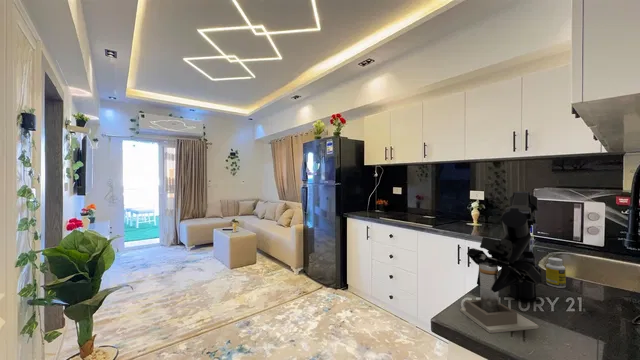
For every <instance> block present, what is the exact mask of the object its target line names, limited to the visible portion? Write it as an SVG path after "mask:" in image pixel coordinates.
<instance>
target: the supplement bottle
mask: <svg viewBox="0 0 640 360" xmlns="http://www.w3.org/2000/svg"><path fill="white" fill-rule="evenodd" d="M547 262H548V263H546V264H545V279H546V281H545V282H546V284H547V285H548V286H549V287H553V288H558V289H565V288H566V283H567V281H566V280H567V278H566V277H567V276H566V267H565V266H564V265H563V264H564V262H563V259H562V258H558V257H548V260H547Z"/></svg>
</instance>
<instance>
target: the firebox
mask: <svg viewBox="0 0 640 360" xmlns="http://www.w3.org/2000/svg"><path fill="white" fill-rule="evenodd" d="M464 302H465V307H462V308H460V309H459V310H460V312H461V313H462V314H463V315H465V316H466V317H467V318H469V319H470V320H471V321H473V322H474V323H475V324H477V325H478V326H480V327H481V328H483V329H484V330H485V331H486V332H488V333H489V334H496V333H497V334H498V333H504V332H505V333H506V332H515V331H527V330H535V329H536V330H537V329H539V324H537V323H535V322H534V321H532V320H530V319H528V318H526V317H525V316H523V315H521V314H520V313H518V312H517V311H515V310H513V309H512V308H510V307H508V306H506V305H505V304H503V303H501V302H499V312H494V313H487V312H485V311H484V310H482V309H481V298H480V299H470V300H468V299H467V300H464Z"/></svg>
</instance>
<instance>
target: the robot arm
mask: <svg viewBox="0 0 640 360" xmlns="http://www.w3.org/2000/svg"><path fill="white" fill-rule="evenodd" d="M531 193H532V192H531V191H528V190H527V191H526V190H525V191H524V190H522V191H521V190H517V191H513V193H512V195H511V196H510V197H509V206H507V207H506V208H505V211H503V212H502V215H501V218H500V222H501V224H502V226H503V227H502V228H503V230H504V231H503V232H504V233H505V235H504V236H503V238H501V239H500V240H499V239H493V238H490V237H485V236H484V237H483V236H482V240H481V242H480V246H479V248H481V249H484V250H486V251H487V254H488V255H489V256H488V255H487V254H486V253H485V252H484V251H483V250H481V249H477V248H473V247H472V248H469V250H468V251H467V252H466V254H467V256H468V257H470V259H471V261H473V262H474V263H475V264H476V265H477V266H478V268H479V267H480V266H479V264H480V263H492V264H496V265H497V266H498V268H501V270H500V274H499V275H498V279H497V280H496V282H495V284H494V286H493V288H492V291H493V292H497V291H499V292H500V291H501V290H504V289H505V288H508V287H509V292H507V295H508V296H510V297H512V298H513V299H516V300H518V301H521V302H522V303H526V302H527V303H528V302H529V303H530V302H538V301H539V302H541V300H542V299H541V298H540V297H537V292H536V291H537V287H536V286H537V285H539V283H543V281H542V279H543V278H542V269H541V268H540V266H539V264H538V263H536V257H535V254H534V252H533V251H531V239H532V235H531V228H532V226H534V225H535V224H536V223H537V212H538V211H539V201H538V197H537V196H535V195H534V194H531ZM490 256H491V257H490ZM477 274H478V275H477V280H476V285H478V286H479V287H480V271H479V270H478V272H477Z"/></svg>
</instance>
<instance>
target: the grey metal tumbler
mask: <svg viewBox="0 0 640 360" xmlns="http://www.w3.org/2000/svg"><path fill="white" fill-rule="evenodd" d="M479 266H480V267H479ZM479 271H480V286H479V287H480V288H479V289H480V291H479V292H480V299H481V309H482V310H484V311H485V312H487V313H494V312H499V303H500V297H499V295H500V294H499V293H500V290H499V291H497V292H493V291H492V288H493V286H494V284H495V282H496V280H497V279H498V277H499V267H498V266H497V265H496V264H492V263H480V264H479V265H478V272H479Z"/></svg>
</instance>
